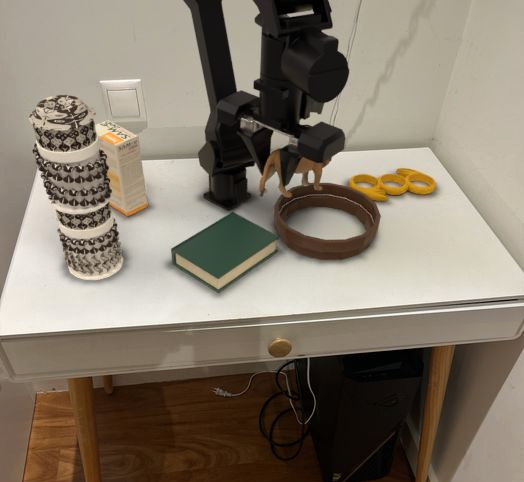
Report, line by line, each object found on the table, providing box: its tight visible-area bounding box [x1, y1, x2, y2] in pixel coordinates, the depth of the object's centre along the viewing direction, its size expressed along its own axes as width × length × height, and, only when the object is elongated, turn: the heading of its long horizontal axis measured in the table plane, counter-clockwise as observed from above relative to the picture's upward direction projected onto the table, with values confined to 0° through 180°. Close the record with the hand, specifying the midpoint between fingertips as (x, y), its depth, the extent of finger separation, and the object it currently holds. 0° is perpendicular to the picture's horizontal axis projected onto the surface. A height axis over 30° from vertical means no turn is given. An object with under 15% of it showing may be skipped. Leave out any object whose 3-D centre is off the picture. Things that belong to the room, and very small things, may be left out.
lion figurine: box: [258, 147, 333, 198], centre depth 85 cm, size 15×5×9 cm, turn 131°
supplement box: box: [95, 119, 149, 217], centre depth 95 cm, size 8×5×13 cm, turn 47°
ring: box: [273, 182, 382, 261], centre depth 95 cm, size 17×17×4 cm
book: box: [170, 211, 280, 294], centre depth 89 cm, size 10×14×3 cm
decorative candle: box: [28, 94, 124, 281], centre depth 79 cm, size 9×9×25 cm
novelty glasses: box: [348, 167, 437, 202], centre depth 106 cm, size 17×2×10 cm
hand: (275, 180), depth 84 cm, fingers closed on lion figurine, 4 cm apart
